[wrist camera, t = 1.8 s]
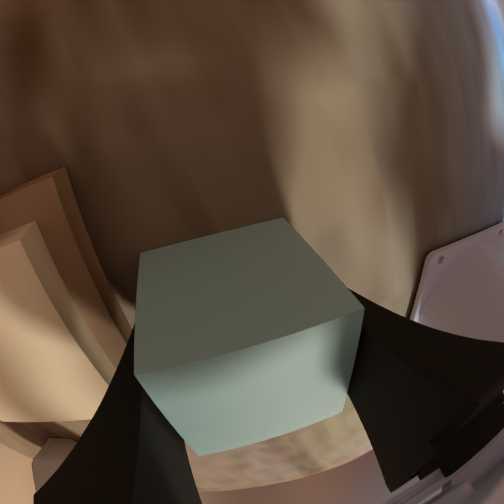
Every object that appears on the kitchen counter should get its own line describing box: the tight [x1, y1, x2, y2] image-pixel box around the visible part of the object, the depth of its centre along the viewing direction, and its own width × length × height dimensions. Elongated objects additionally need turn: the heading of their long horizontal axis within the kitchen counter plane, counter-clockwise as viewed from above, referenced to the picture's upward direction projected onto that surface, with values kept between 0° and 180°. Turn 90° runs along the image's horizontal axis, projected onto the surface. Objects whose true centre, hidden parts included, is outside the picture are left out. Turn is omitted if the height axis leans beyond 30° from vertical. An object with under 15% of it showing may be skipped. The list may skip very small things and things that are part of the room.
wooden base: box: [0, 166, 132, 422], centre depth 8 cm, size 10×10×2 cm
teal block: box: [134, 217, 365, 456], centre depth 9 cm, size 5×5×5 cm
